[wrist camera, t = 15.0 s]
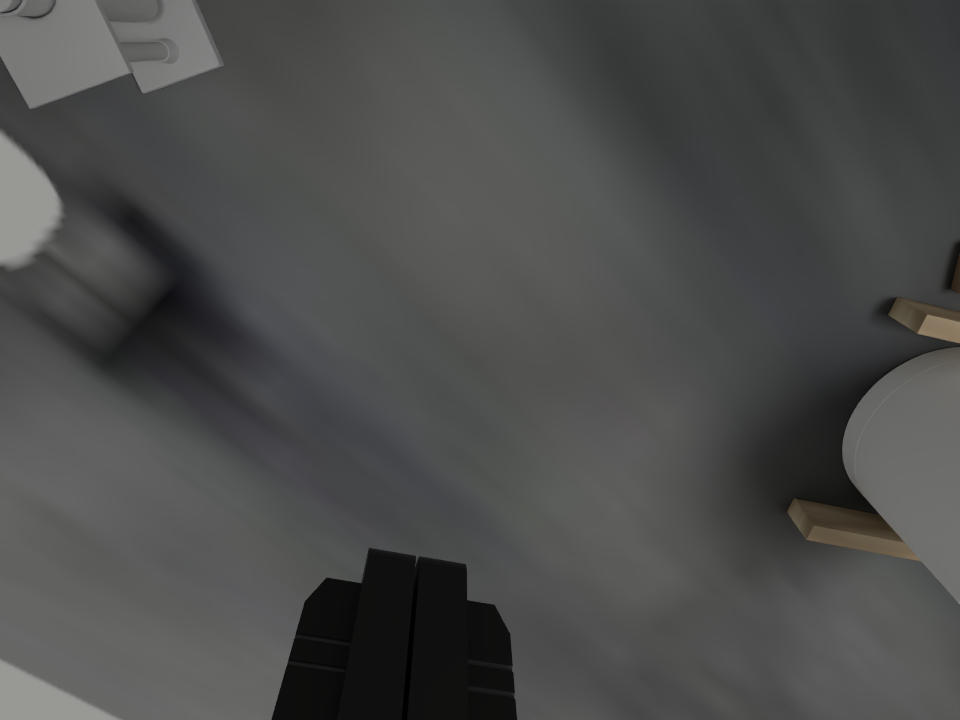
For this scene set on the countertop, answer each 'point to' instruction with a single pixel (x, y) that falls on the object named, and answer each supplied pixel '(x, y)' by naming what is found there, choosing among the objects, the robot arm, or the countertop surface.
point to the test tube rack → (102, 44)
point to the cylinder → (913, 458)
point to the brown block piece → (956, 278)
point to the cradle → (859, 525)
